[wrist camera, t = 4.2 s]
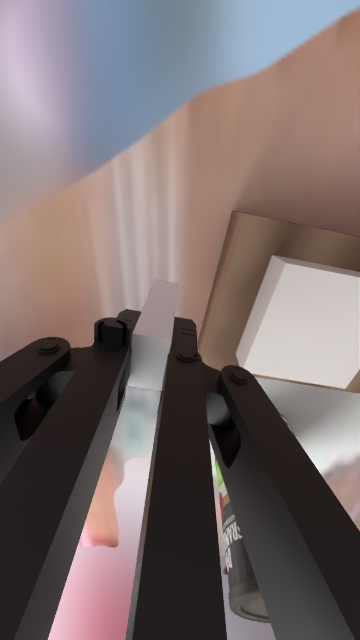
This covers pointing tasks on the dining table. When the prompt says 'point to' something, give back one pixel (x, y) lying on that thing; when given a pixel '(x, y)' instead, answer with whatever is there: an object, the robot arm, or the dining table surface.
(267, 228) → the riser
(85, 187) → the dining table surface
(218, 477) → the coffee can
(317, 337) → the coaster
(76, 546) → the robot arm
